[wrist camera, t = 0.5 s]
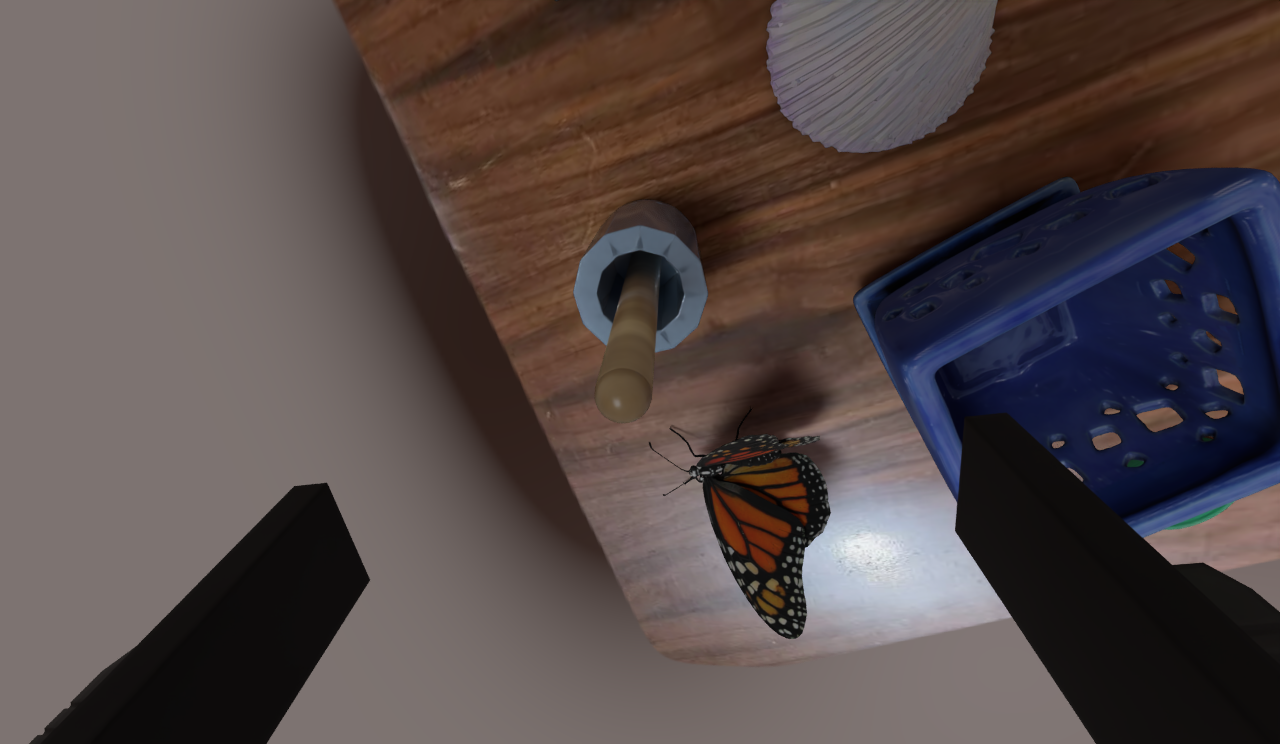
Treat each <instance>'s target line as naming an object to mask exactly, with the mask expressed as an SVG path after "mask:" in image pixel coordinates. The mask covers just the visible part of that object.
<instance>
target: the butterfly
mask: <svg viewBox="0 0 1280 744" xmlns="http://www.w3.org/2000/svg"><path fill="white" fill-rule="evenodd" d="M751 410H752V409H751V407H750V410H749V412H748V413H747V414H746V416H745V417H744V419H745V418H746V417H747V415H748V414H749V413H750V412H751ZM744 419H743V420H742V421H741V423H740V425H739V428H740V426H741V425H742V423H743V421H744ZM739 428H738V430H737V436H736V439H735V441H732V442H730V443H728V444H725V445H723V446H721V447H719V448H717V449H715V450H714V451H712V452H710V453H709V454H707V455H694V453H693V451H692V449H691V447H690V445H689V443H688V442H687V441H686V440H685V439H684V437H682V436H681V435H680V434H678V433H677V432H676V431H674V430H673V429H670V428H669V429H670V430H671V431H673V432H674V433H676V434H677V435H679V436H680V437H681V438H682V439H683V440H684V441H685V442H686V443H687V445H688V447H689V449H690V451H691V452H692V454H693V456H695V457H703V458H702V459H701V460H700V461H699V462H698V463H697V465H696V466H694V465H693V466H691V468H690V470H689V471H686V470H683V469H681V468H680V469H681V470H683V471H686V472H689V474H690V475H691V476H692V477H691V478H690V479H689V480H688V481H687V482H685V483H684V482H683V483H684V484H686V483H688V482H689V481H690V480H692V479H696V480H697V481H698V482H700V483H702V482H703V492H704V497H705V503H706V507H707V510H708V514H709V517H710V521H711V524H712V527H713V530H714V532H715V535H716V537H717V540H718V543H719V545H720V548H721V550H722V553H723V555H724V558H725V560H726V562H727V564H728V566H729V568H730V570H731V572H732V574H733V576H734V578H735V580H736V581H737V583H738V585H739V586H740V588H741V590H742V591H743V593H744V595H745V596H746V598H747V600H748V601H749V602H750V604H751V605H752V607H753V608H754V609H755V611H756V612H757V613H758V615H759V616H760V617H761V618H762V619H763V620H764V621H765V623H766V624H767V625H768V626H769V627H770V628H771V629H773V630H774V631H775V632H776V633H778V634H779V635H781V636H783V637H785V638H788V639H796V638H798V637H799V636H800V635H801V634H802V632H803V629H804V626H805V621H806V616H807V610H806V600H805V596H804V589H803V582H802V566H803V559H804V551H805V547H808V546H809V545H810V543H811V542H812V541H813V540H814V539H815V538H816V537H817V536H819V535H820V534H821V533H823V531H824V528H825V526H826V524H827V521H828V518H829V516H830V513H831V512H830V507H829V502H828V492H827V487H826V482H825V479H824V478H823V476H822V474H821V472H820V471H819V469H818V468H817V466H816V465H815V464H814V463H813V461H812V460H811V459H810V458H809V457H808V456H806V455H803V454H799V453H784V454H781V449H784V448H787V447H793V446H799V445H805V444H809V443H812V442H815V441H817V440H820V436H817V437H811V436H806V437H801V438H787V439H782V440H778V438H776V436H774V435H772V436H771V435H768V434H763V435H749V436H745V437H742V438H740V439H737V438H738V435H739ZM649 445H650V447H651V449H652V450H653V448H652V446H651V443H650V442H649ZM653 451H654V450H653ZM655 452H656V451H655ZM656 453H657V452H656ZM658 454H659V453H658ZM659 455H660V454H659ZM661 456H662V455H661ZM662 457H663V456H662ZM664 458H665V457H664ZM665 459H666V458H665ZM666 460H667V459H666ZM668 461H669V460H668ZM669 462H670V461H669ZM671 463H672V462H671ZM672 464H673V463H672ZM674 465H675V464H674ZM675 466H676V465H675ZM677 467H678V466H677ZM678 468H679V467H678ZM721 471H722V474H720V475H719V473H721ZM699 475H700V479H699V480H698V478H697V476H699ZM702 476H703V477H702ZM682 485H683V484H682ZM682 485H681V486H682ZM679 487H680V486H679ZM677 488H678V487H677ZM677 488H676V489H677ZM674 490H675V489H674ZM674 490H672V491H674ZM672 491H671V492H672ZM669 493H670V492H669ZM669 493H668V494H669ZM666 495H667V494H666ZM666 495H665V494H663V496H666Z"/></svg>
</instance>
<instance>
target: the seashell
mask: <svg viewBox="0 0 1280 744" xmlns="http://www.w3.org/2000/svg"><path fill="white" fill-rule="evenodd" d="M997 1H998V0H776V1H775V2H774V3H773V4H772V6H771V9H770V11H771V15H772V19H771V20H770V21H769V22H768V26H767V29H766V31H768V32H769V39H768V41H767V46H766V50H767V52H768V56H769V59H768V60H767V69H768V70H769V72H770V73H771V85H772V87H773V92H774V95H775V96H776V97H778V104H779V105H780V107H781V110H780V111H781V112H782V113H783V114H784V116H785V117H787V118H788V120H790V121H793V128H795V129H797V130H799V131H800V132H801V134H802V135H809V136H810V138H811V140H812V141H813V142H819V141H820V142H821V143H822V144H823V146H824V147H825V148H827V147H830V146H832V147H834V148H836V149H837V151H838V152H852V153H854V152H858V153H867V152H880V151H882V150H889V149H892V148H895V147H898V146H902V145H905V144H912V141H914V140H917V139H922V138H924V135H926V134H928V133H930V132H935V129H936V127H938V126H939V125H941V124H942V123H944V122H947V119H948V117H949V116H951V115H952V114H954V113H956V112H957V110H958V109H959V108H960V107H961V106H963V105H964V103H963V102H964V101H965V99H966V98H967V96H968V95H970V94H972V93H973V92H974V91H973V87H974V86H975V85H976V84H977V83H978V82H979V81H980V78H979V77H980V75H981V72H982V71H983V70H984V69H985V68H986V66H985V62H986V59H987V58H988V57H989V55H990V54H991V53H992V52H991V51H990V49H989V46H990V44H991V42H992V40H991V38H990V36H991V35H992V34H993V33H994V31H995V30H994V29H993V28H992V25H993V21H994V15H995V9H996V5H997Z"/></svg>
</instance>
